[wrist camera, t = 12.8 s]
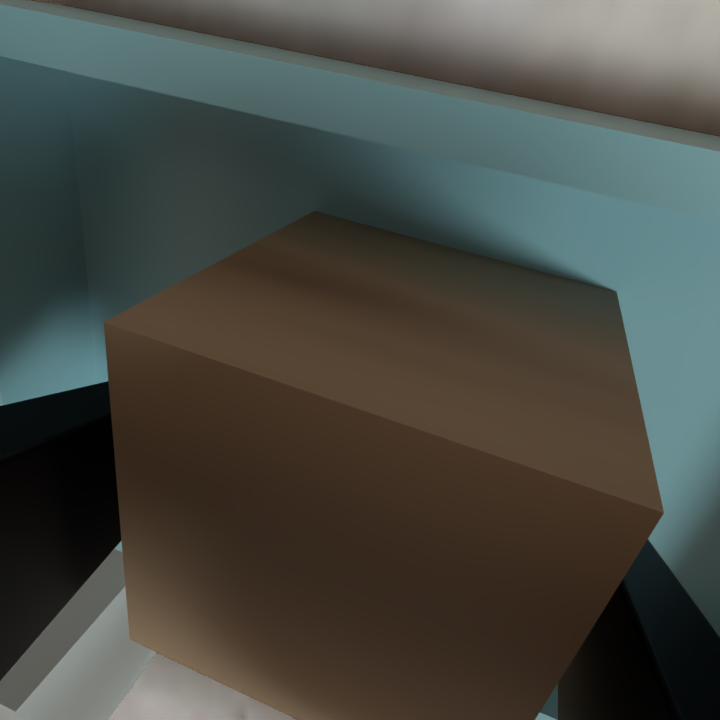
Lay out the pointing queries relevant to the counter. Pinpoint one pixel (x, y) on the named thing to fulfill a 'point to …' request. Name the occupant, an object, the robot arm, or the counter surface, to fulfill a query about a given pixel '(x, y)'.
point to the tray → (346, 209)
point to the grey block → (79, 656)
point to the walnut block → (376, 473)
